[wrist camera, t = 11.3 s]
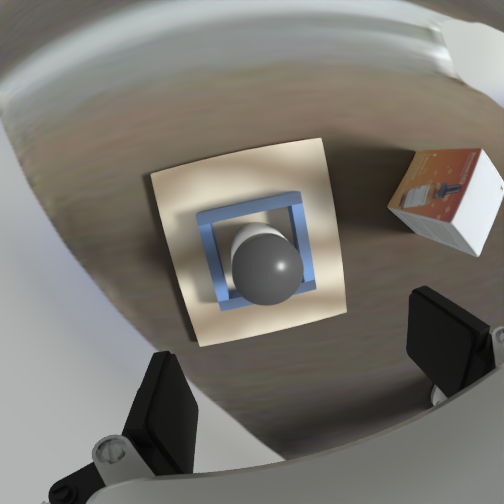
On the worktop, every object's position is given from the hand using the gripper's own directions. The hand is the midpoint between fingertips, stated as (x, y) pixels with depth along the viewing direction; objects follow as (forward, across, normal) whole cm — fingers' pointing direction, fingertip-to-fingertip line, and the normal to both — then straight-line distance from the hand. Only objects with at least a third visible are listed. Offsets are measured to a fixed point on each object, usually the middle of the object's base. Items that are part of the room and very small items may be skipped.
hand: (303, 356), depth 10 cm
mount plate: (+18, 0, 0) cm, 18 cm away
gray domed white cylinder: (+17, 0, 0) cm, 17 cm away
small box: (+18, -19, -2) cm, 26 cm away
